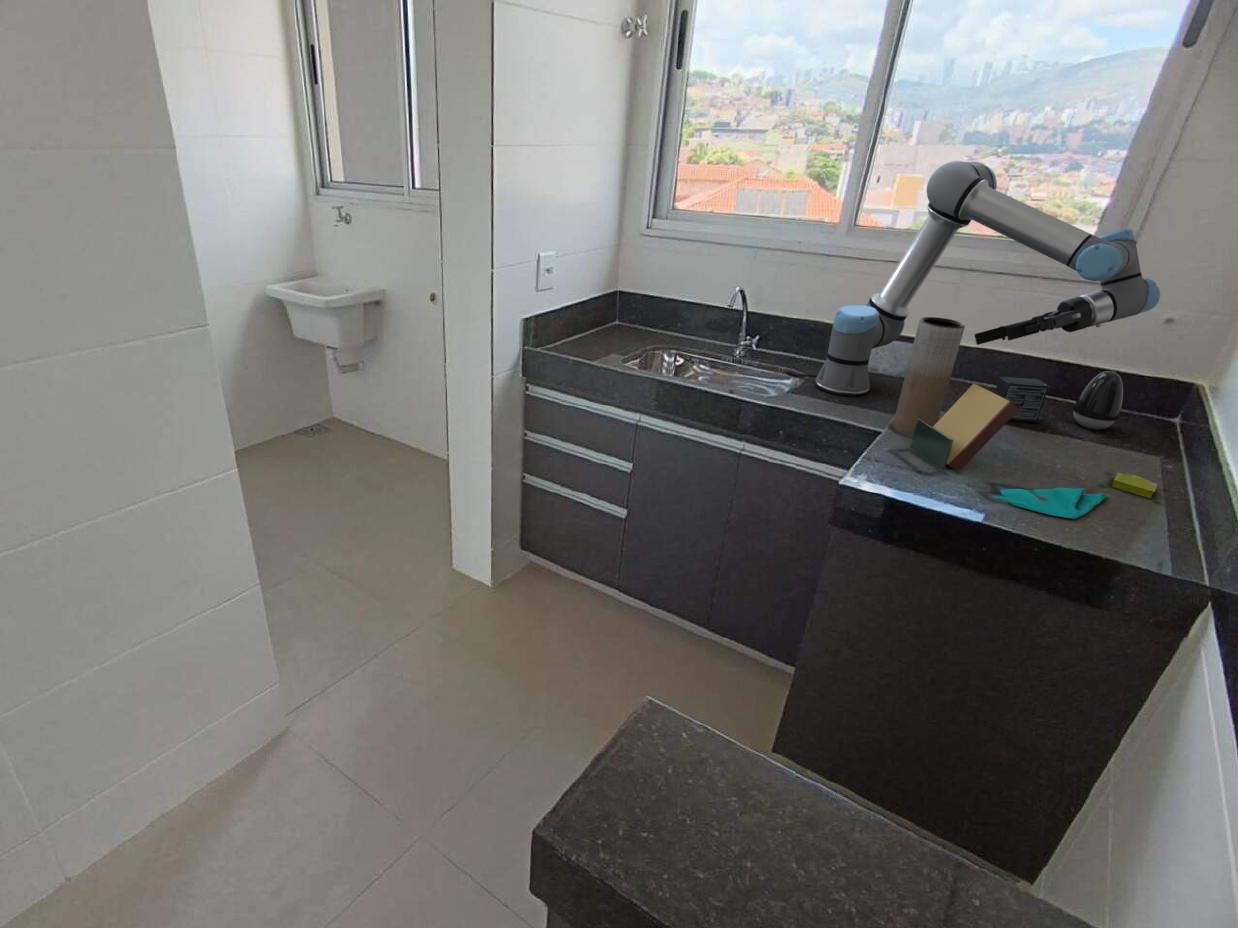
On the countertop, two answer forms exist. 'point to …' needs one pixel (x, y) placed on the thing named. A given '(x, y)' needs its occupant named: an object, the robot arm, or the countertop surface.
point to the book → (973, 423)
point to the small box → (1023, 396)
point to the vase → (928, 372)
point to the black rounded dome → (1100, 401)
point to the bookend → (931, 444)
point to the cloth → (1053, 501)
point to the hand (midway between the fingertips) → (991, 337)
